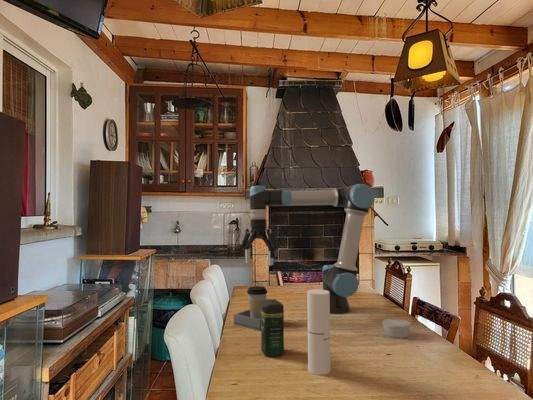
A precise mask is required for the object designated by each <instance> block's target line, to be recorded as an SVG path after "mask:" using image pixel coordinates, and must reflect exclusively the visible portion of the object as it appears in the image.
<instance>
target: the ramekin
mask: <svg viewBox="0 0 533 400" xmlns="http://www.w3.org/2000/svg"><path fill="white" fill-rule="evenodd" d="M381 324H382V328H383V333H384V334H385V336H387V337H390V338H392V337H393V339H400V338H401V339H407V338H409V336H410V333H411V332H410V331H411V327H412V323H411V322H410V321H408V320H406V319H402V318H394V317H393V318H392V317H391V318H385V319H383V320H382V321H381ZM406 337H407V338H406Z"/></svg>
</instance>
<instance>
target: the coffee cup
mask: <svg viewBox="0 0 533 400" xmlns="http://www.w3.org/2000/svg"><path fill="white" fill-rule="evenodd" d="M246 294H247V297H248V299H247V301H248V309H249V310H250V316H251V317H252V318H256V319H261V304H262V302H263V301H265V300H267V294H268V289H266V287H265V286H260V285H259V286H256V285H255V286H249V287H248V290H246Z"/></svg>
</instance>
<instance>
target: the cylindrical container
mask: <svg viewBox="0 0 533 400" xmlns="http://www.w3.org/2000/svg"><path fill="white" fill-rule="evenodd" d="M306 295H307V296H306V297H307V298H306V299H307V305H306V306H307V371H308V372H309V373H310V374H313V375H316V376H324V375H328V374H330V373H331V313H330V292H329V291H327V290H323V289H309V290H307V291H306Z"/></svg>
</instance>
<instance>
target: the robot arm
mask: <svg viewBox="0 0 533 400" xmlns="http://www.w3.org/2000/svg"><path fill="white" fill-rule="evenodd" d="M375 198H376V197H375V192H374V190H373V188H372V187H371V186H369V185H368V184H365V183H355V184H353V185H348V186H345V187H344V186H343V187H335V188H333V189H331V190H330V189H329V190H328V189H326V190H322V189H321V190H320V189H319V190H290V189H267V187H266V186H265V185H252V186H251V187H250V189H249V206H250V207H249V208H250V209H249V211H250V218H251V219H250V227H251V228H246V229H245V234H244V236H243V239H242V242H241V245H240V248H241V249H243V251H244V254H243V256H244V257H245V264H250V263H251V249H250V247H251V245H253V242H255V240H256V239H261V240H262V241H263V242H264V243H265V245H266V246H267V248H268V249H269V250H268V251H267V252H268V266H269V267H270V266H274V258H275V251H276V250H278V249H279V247H278V245H277V242H276V240H275V237H274V235H273V229H272V228H270V229H269V228H268V229H267V219H266V218H267V207H270V206H271V207H285V206H286V207H289V206H291V207H292V206H295V207H296V206H333V207H337V208H338V207H342V208H343V209H344V212H345V214H346V215H345V221H344V225H343V231H342V235H341V241H340V246H339V251H338V257H337V261H336V262H335V263H334V264H324V265H323V266H322V271H321V273H322V290H327V291H329V292H330V314H345V313H348V312H350V303H349V301H348V298H349V297H351V296H353V295H354V294H356V293H357V291H358V289H359V287H360V286H359V283H360V282H359V279H358V278H357V276H358V268H357V266H356V264H357V258H358V255H359V253H358V251H359V247H360V242H361V239H362V238H361V237H362V231H363V225H364V222H365V217H366V216H367V215H369V213H370V207H371V206H372V205H373V204H374V202H375V200H376V199H375Z"/></svg>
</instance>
